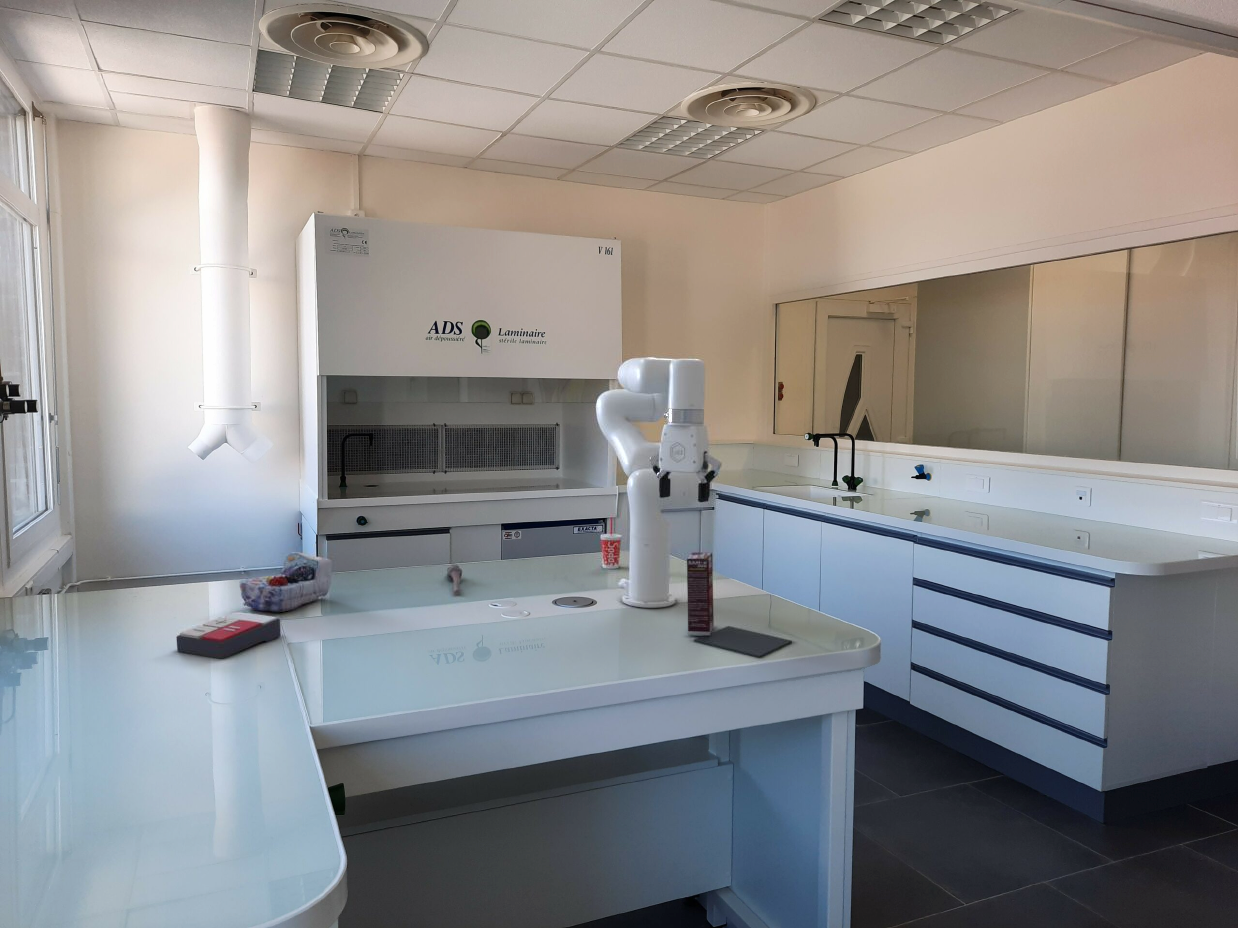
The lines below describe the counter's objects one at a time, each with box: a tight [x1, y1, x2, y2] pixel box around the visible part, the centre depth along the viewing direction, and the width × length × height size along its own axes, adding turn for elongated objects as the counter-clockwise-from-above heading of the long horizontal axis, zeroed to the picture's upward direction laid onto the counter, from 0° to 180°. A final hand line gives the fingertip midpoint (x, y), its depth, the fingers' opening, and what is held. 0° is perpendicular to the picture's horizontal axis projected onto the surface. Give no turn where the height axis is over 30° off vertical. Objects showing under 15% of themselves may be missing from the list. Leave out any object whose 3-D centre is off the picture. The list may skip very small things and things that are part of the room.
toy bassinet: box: [239, 551, 333, 613], centre depth 188 cm, size 13×11×20 cm
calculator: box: [176, 611, 282, 660], centre depth 160 cm, size 11×4×15 cm
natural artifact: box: [445, 564, 463, 596], centre depth 211 cm, size 4×23×4 cm
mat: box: [693, 625, 793, 658], centre depth 168 cm, size 15×13×1 cm
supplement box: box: [686, 551, 715, 637], centre depth 174 cm, size 9×5×16 cm, turn 168°
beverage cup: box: [600, 517, 623, 570], centre depth 234 cm, size 6×6×14 cm
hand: (683, 499), depth 176 cm, fingers open, 9 cm apart
